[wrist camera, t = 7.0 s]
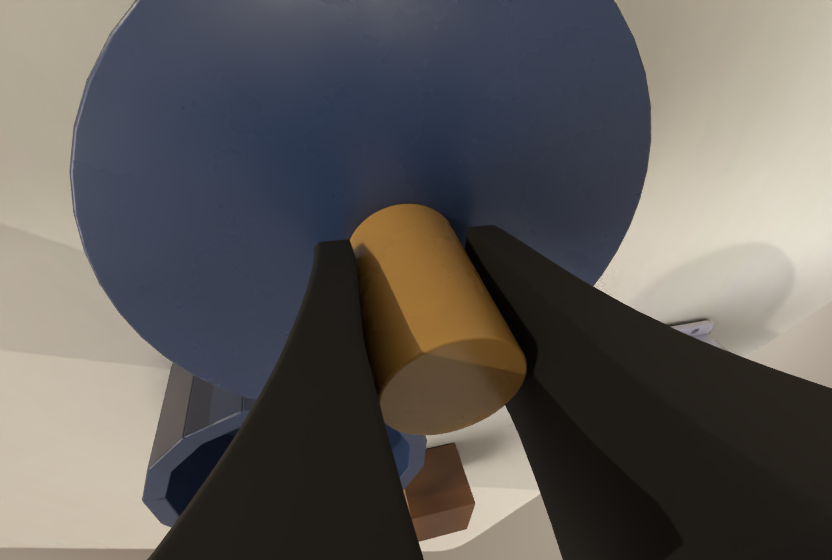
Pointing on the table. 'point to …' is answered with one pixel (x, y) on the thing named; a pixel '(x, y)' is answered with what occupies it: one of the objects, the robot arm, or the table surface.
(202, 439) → the tin
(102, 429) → the table surface
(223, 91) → the lid
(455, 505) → the block
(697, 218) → the table surface
